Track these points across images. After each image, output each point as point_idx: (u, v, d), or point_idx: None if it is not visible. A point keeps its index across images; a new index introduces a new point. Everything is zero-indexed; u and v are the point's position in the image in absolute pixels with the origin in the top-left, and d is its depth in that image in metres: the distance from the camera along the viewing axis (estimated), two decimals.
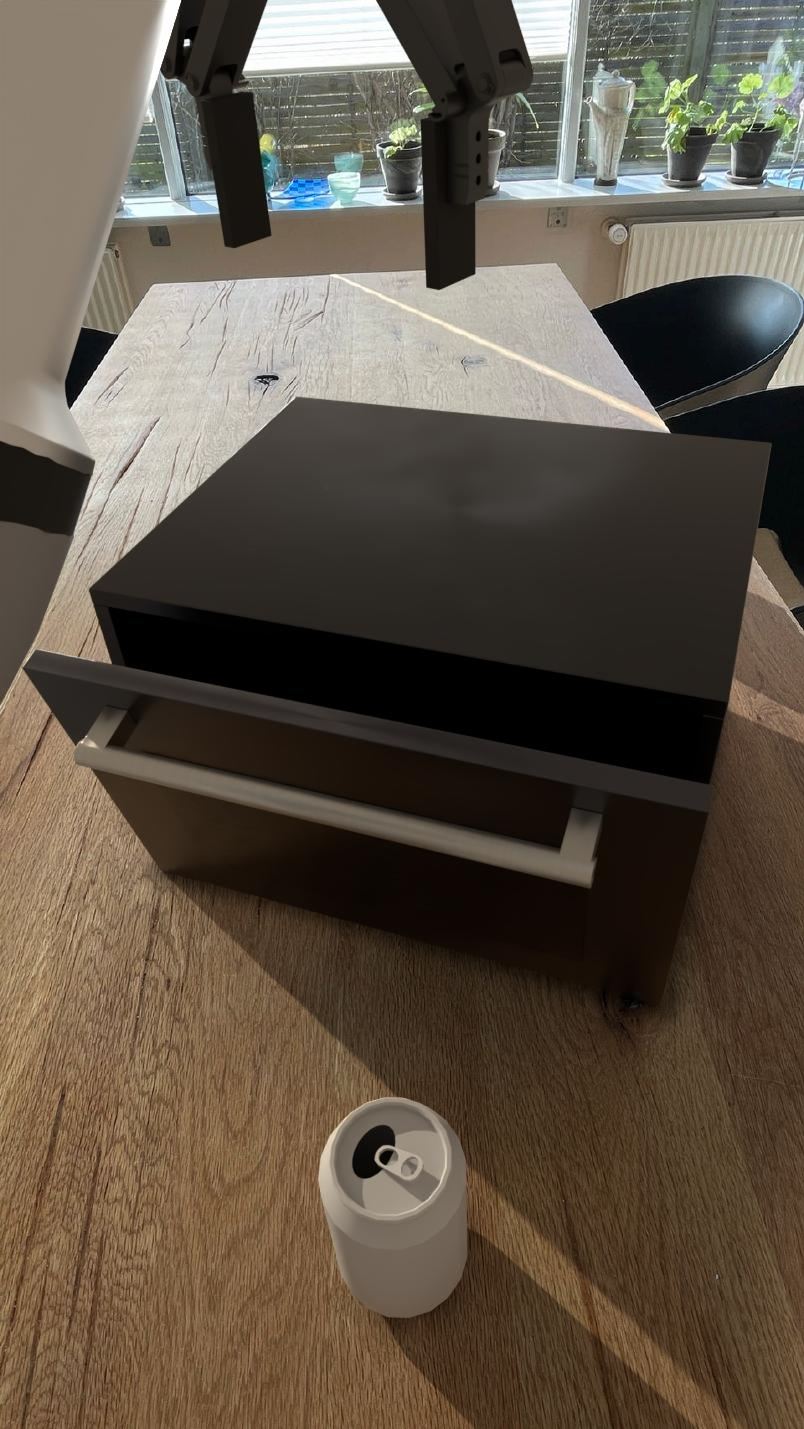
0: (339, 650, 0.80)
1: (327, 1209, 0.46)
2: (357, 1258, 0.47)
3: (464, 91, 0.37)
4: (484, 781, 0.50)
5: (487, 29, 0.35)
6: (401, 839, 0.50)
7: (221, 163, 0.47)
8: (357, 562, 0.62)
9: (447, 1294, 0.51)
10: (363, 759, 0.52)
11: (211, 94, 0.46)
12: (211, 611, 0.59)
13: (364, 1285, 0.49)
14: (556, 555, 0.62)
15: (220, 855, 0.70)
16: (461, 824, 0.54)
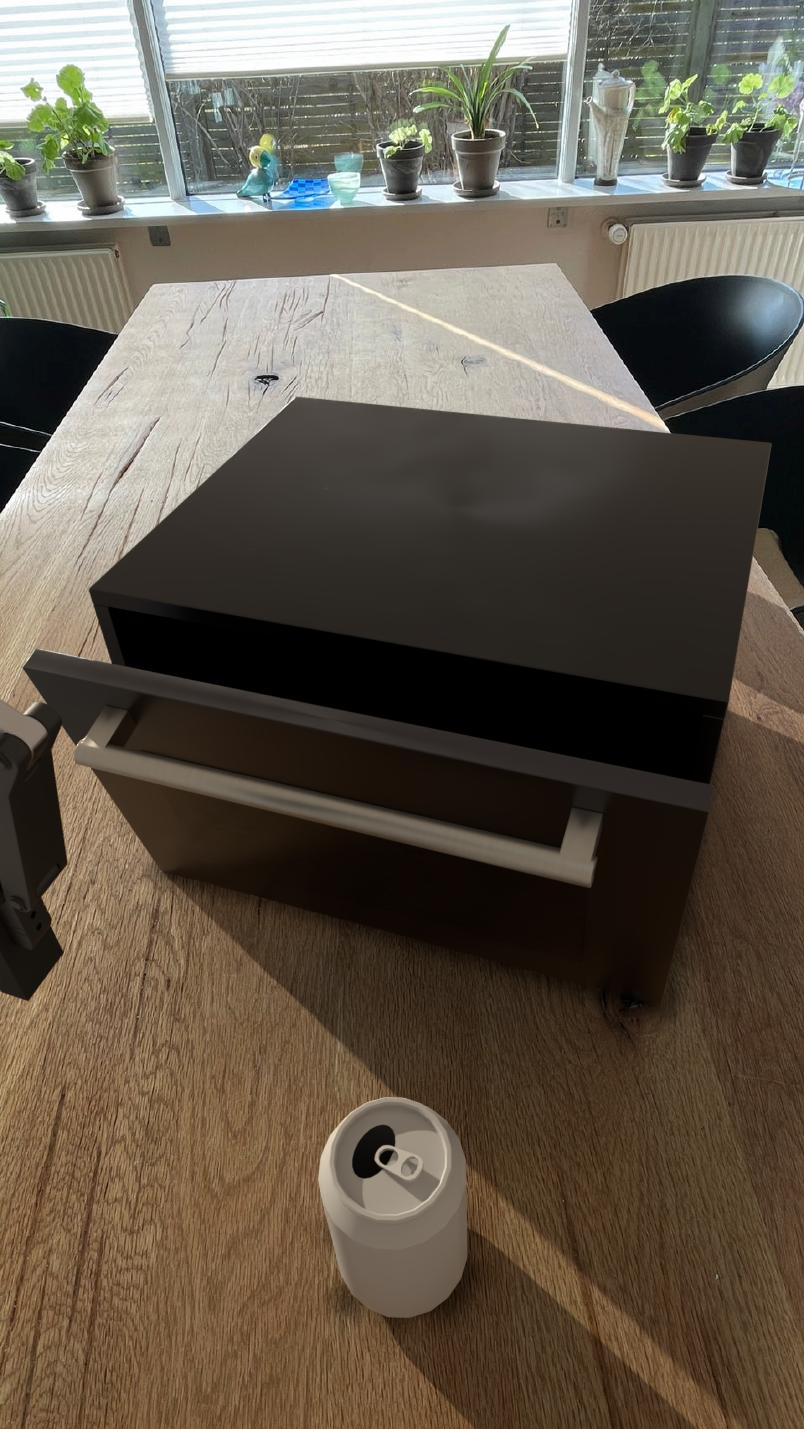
0: (339, 650, 0.80)
1: (327, 1209, 0.46)
2: (357, 1258, 0.47)
3: (5, 898, 0.38)
4: (485, 780, 0.50)
5: (32, 877, 0.36)
6: (401, 839, 0.50)
7: None
8: (357, 562, 0.62)
9: (447, 1294, 0.51)
10: (363, 758, 0.52)
11: None
12: (211, 611, 0.59)
13: (364, 1285, 0.49)
14: (556, 555, 0.62)
15: (220, 855, 0.70)
16: (461, 824, 0.54)
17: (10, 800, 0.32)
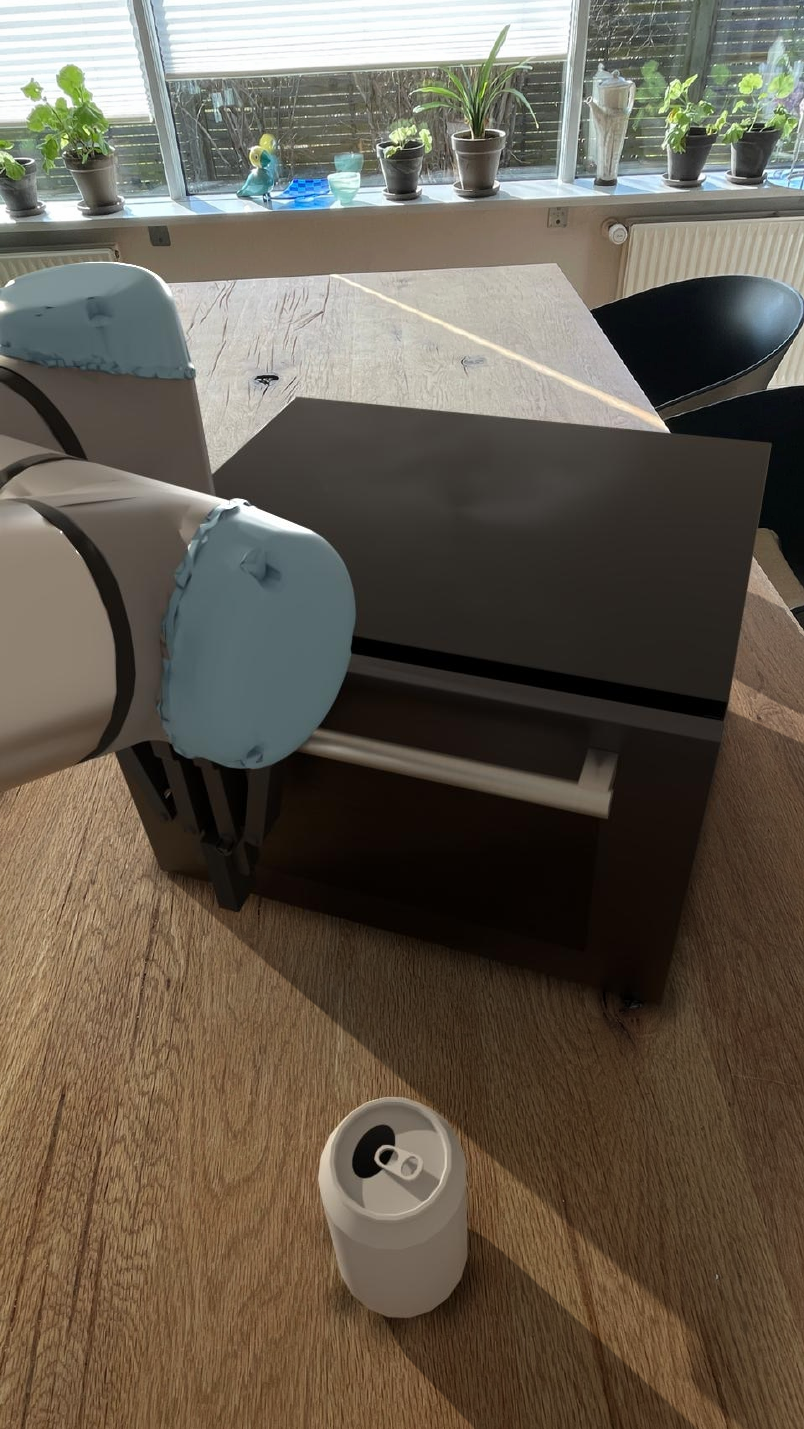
0: None
1: (327, 1209, 0.46)
2: (357, 1258, 0.47)
3: (240, 838, 0.58)
4: (506, 721, 0.52)
5: (267, 822, 0.56)
6: (424, 773, 0.51)
7: (218, 871, 0.60)
8: (357, 562, 0.62)
9: (447, 1294, 0.51)
10: (388, 704, 0.54)
11: (205, 832, 0.59)
12: None
13: (364, 1285, 0.49)
14: (556, 555, 0.62)
15: None
16: None
17: (270, 770, 0.52)
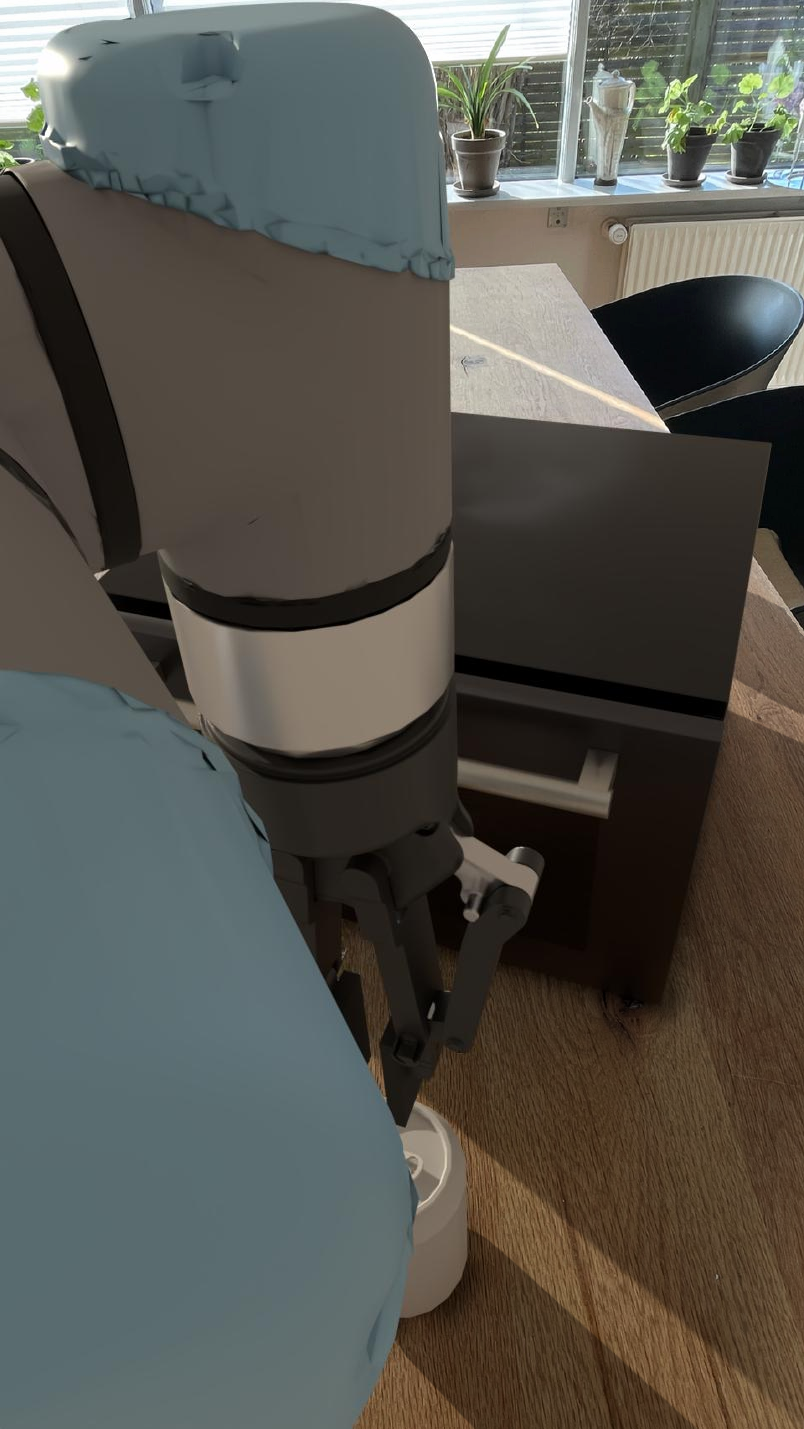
0: None
1: None
2: None
3: (429, 1035, 0.37)
4: (506, 721, 0.52)
5: (479, 1020, 0.35)
6: None
7: None
8: None
9: (447, 1294, 0.51)
10: None
11: None
12: None
13: None
14: (556, 555, 0.62)
15: None
16: None
17: (497, 950, 0.31)
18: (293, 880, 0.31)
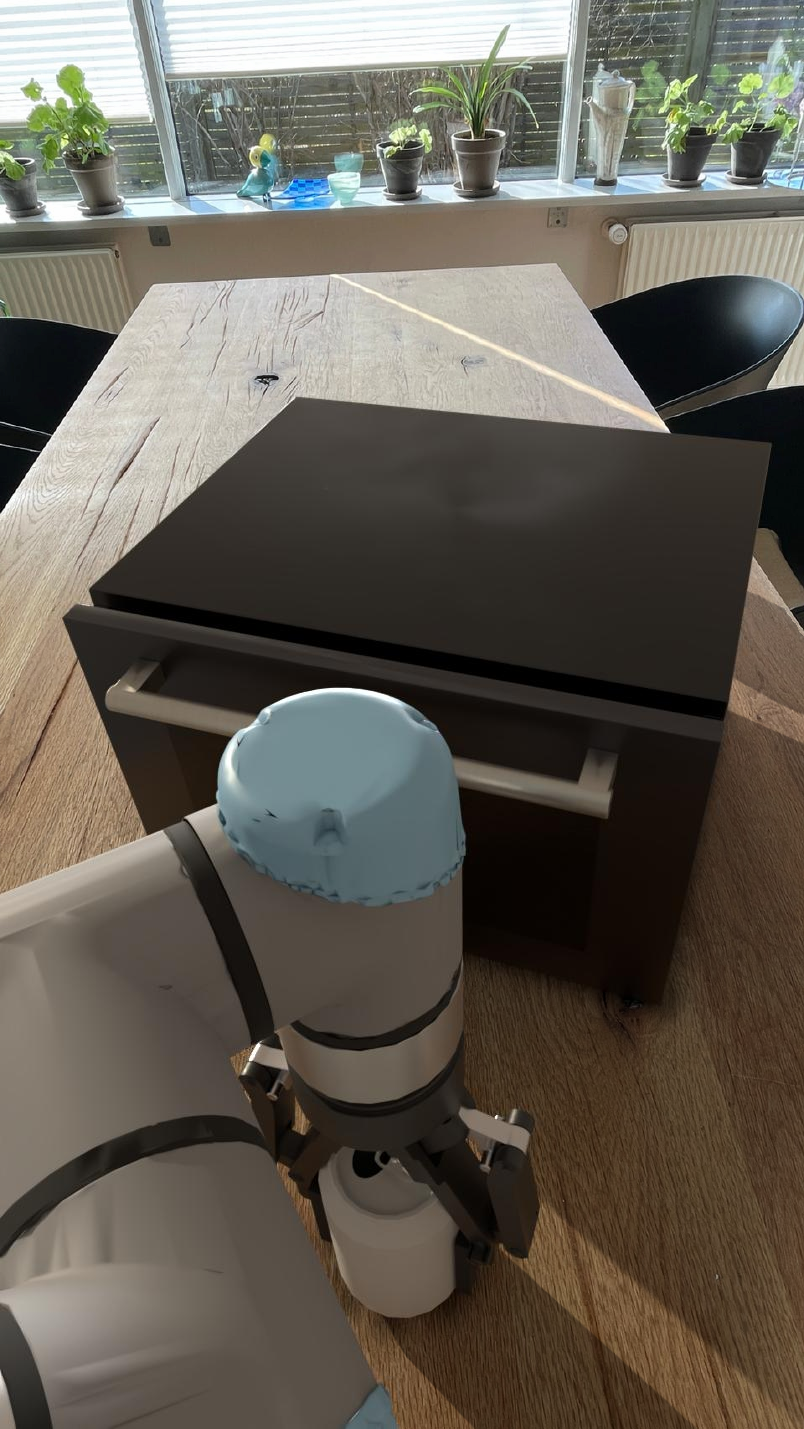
0: (339, 650, 0.80)
1: (327, 1209, 0.46)
2: (357, 1258, 0.47)
3: (494, 1239, 0.47)
4: (506, 721, 0.52)
5: (526, 1233, 0.45)
6: None
7: (325, 1214, 0.51)
8: (357, 562, 0.62)
9: (447, 1294, 0.51)
10: None
11: None
12: (211, 611, 0.59)
13: (364, 1284, 0.49)
14: (556, 555, 0.62)
15: None
16: None
17: (513, 1189, 0.42)
18: None
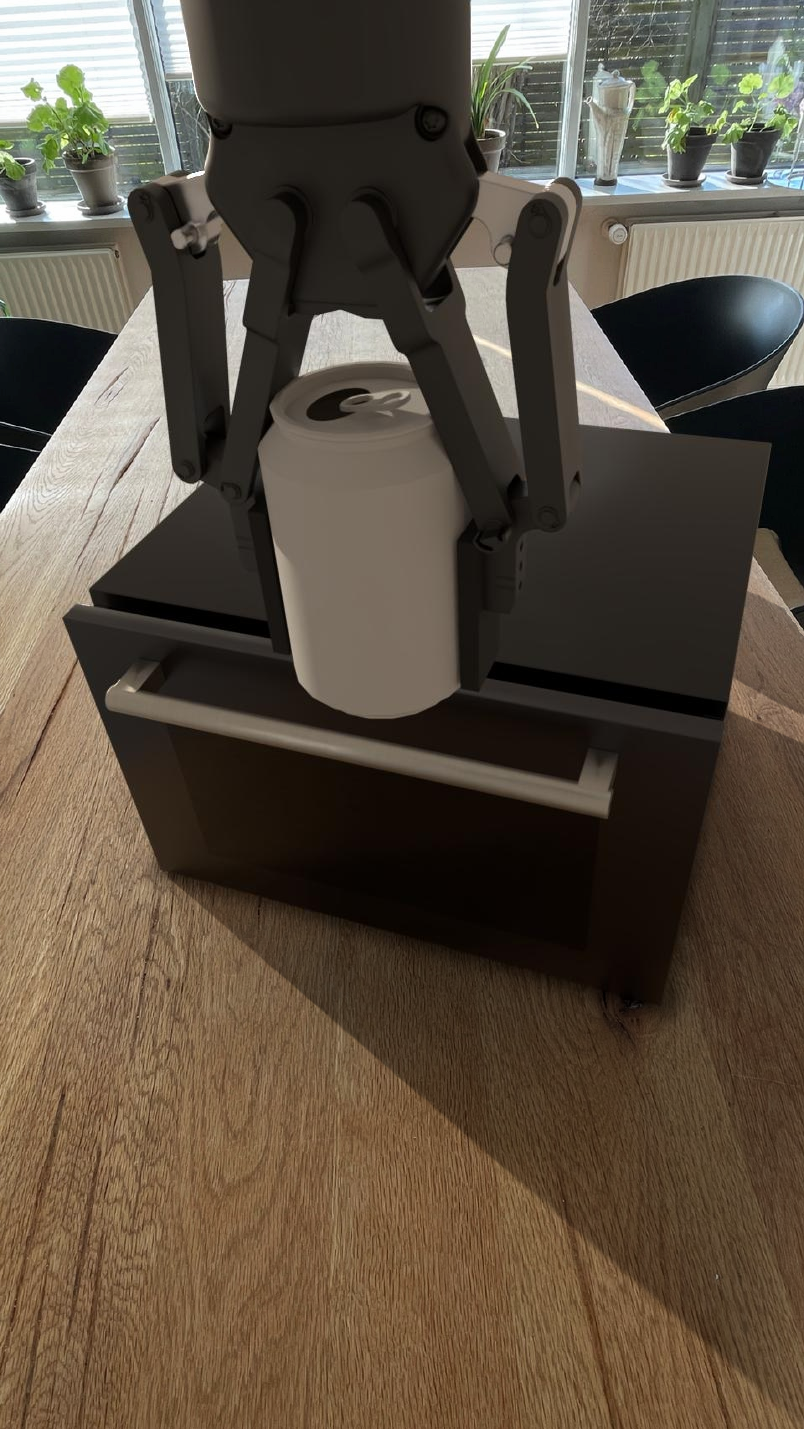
0: None
1: (268, 466, 0.31)
2: (313, 547, 0.32)
3: (515, 520, 0.32)
4: (506, 721, 0.52)
5: (565, 466, 0.30)
6: (424, 773, 0.51)
7: (275, 574, 0.36)
8: None
9: (447, 687, 0.36)
10: None
11: (256, 498, 0.35)
12: (211, 611, 0.59)
13: (326, 634, 0.34)
14: (556, 555, 0.62)
15: (227, 841, 0.70)
16: None
17: (547, 302, 0.26)
18: (278, 252, 0.27)
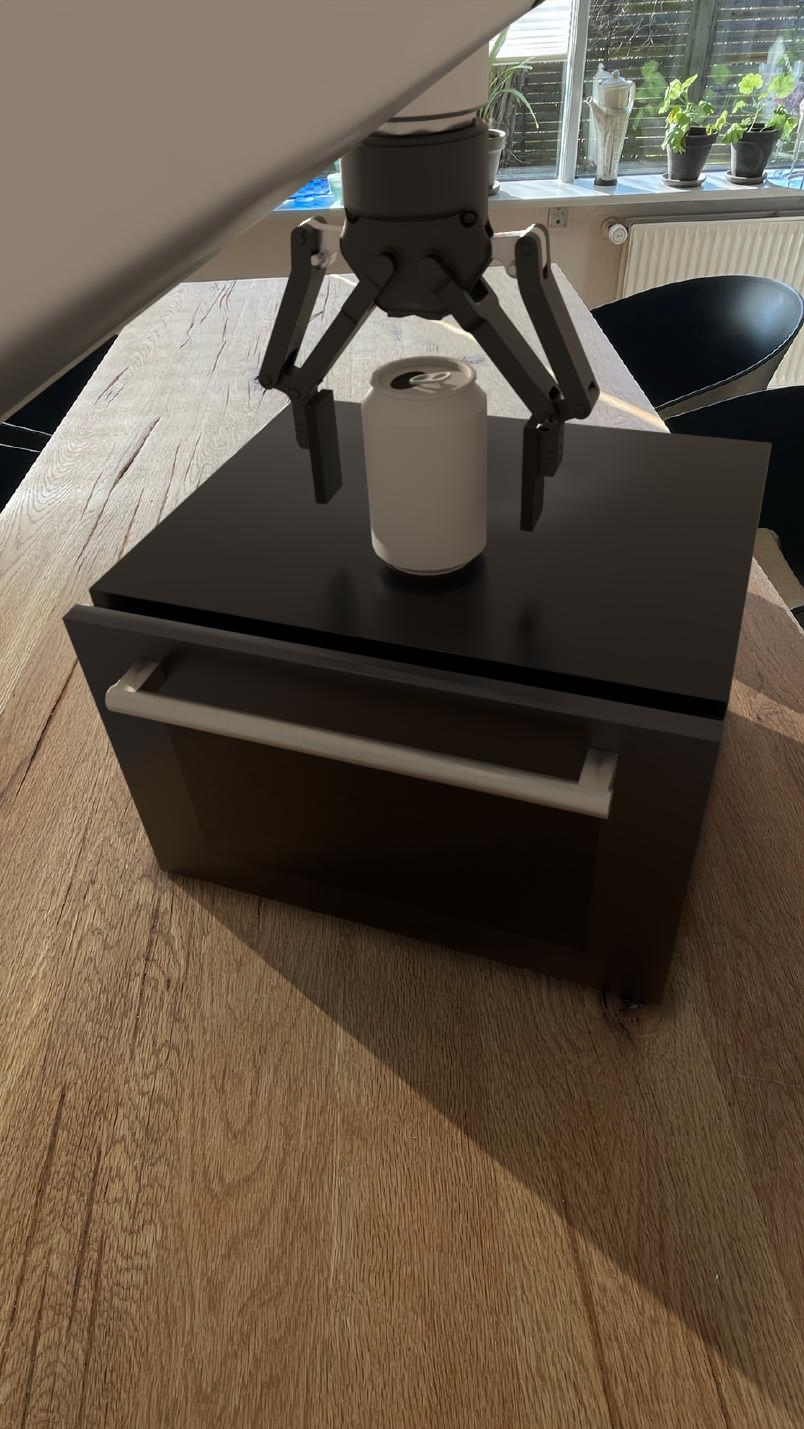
0: (339, 650, 0.80)
1: (369, 415, 0.55)
2: (394, 462, 0.55)
3: (558, 410, 0.53)
4: (506, 721, 0.52)
5: (581, 376, 0.51)
6: (424, 773, 0.51)
7: (320, 447, 0.59)
8: (357, 562, 0.62)
9: (469, 554, 0.60)
10: (388, 704, 0.54)
11: (308, 399, 0.58)
12: (211, 611, 0.59)
13: (399, 517, 0.57)
14: (556, 555, 0.62)
15: (227, 841, 0.70)
16: None
17: (542, 287, 0.48)
18: (377, 282, 0.50)
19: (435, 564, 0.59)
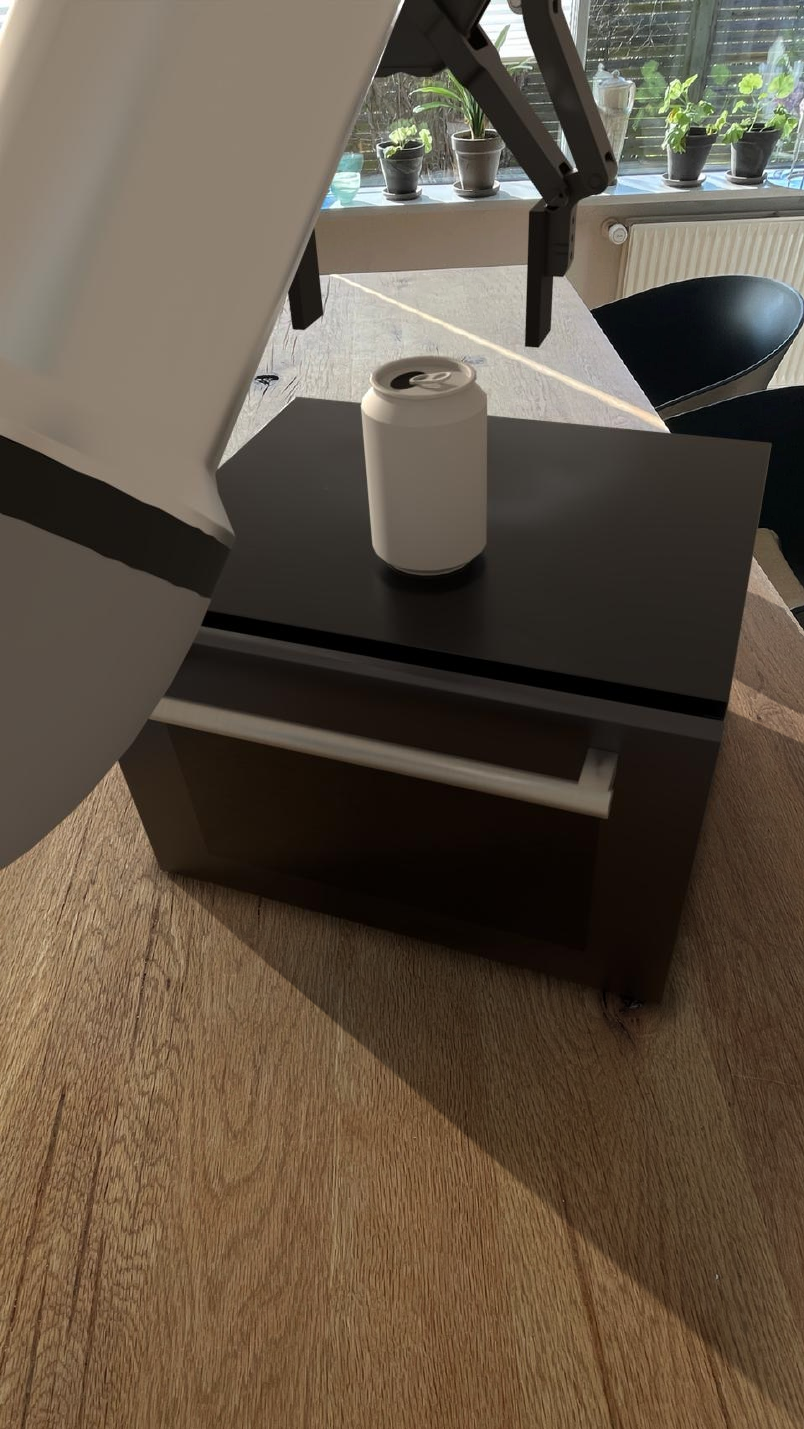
0: (339, 650, 0.80)
1: (369, 415, 0.55)
2: (394, 462, 0.55)
3: (570, 187, 0.45)
4: (506, 721, 0.52)
5: (596, 139, 0.44)
6: (424, 773, 0.51)
7: None
8: (357, 562, 0.62)
9: (469, 554, 0.60)
10: (388, 704, 0.54)
11: None
12: (211, 611, 0.59)
13: (399, 517, 0.57)
14: (556, 555, 0.62)
15: (227, 841, 0.70)
16: None
17: (551, 19, 0.41)
18: None
19: (435, 564, 0.59)
